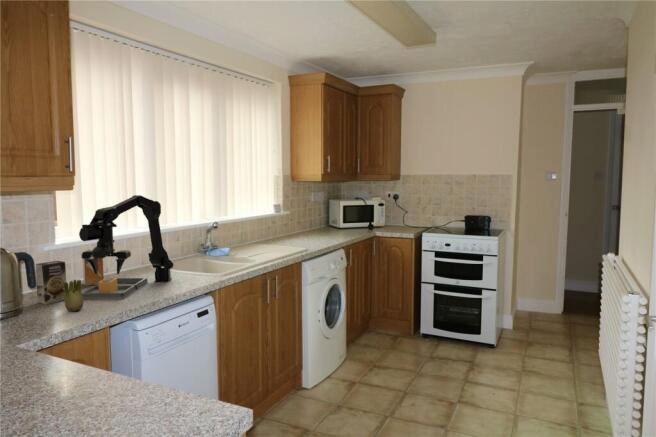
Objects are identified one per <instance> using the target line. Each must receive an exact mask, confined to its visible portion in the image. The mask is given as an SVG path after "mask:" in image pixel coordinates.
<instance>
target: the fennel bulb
mask: <svg viewBox="0 0 656 437" xmlns="http://www.w3.org/2000/svg"><path fill="white" fill-rule="evenodd" d="M81 288H82V280H81V279H73V280H70V281H69V282H68V281H66V282H64V289H65V300H64V305H65V309H66V311H67V312H79V311H81V309H82V308H83V306H84V299H83V297H82V293H81V292H82V289H81Z"/></svg>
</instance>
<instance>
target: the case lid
mask: <svg viewBox="0 0 656 437" xmlns="http://www.w3.org/2000/svg"><path fill="white" fill-rule="evenodd" d="M136 291H137V290H136V285H118V291H116V292H115V293H99V285H97V286H96V285H92V286H91V287H89V288H87V289H86V290H84V291H81V293H82V297H83V300H124V299H125V298H127V297H129V296H130V295H131V294H133V293H134V292H136Z"/></svg>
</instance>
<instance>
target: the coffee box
mask: <svg viewBox="0 0 656 437" xmlns="http://www.w3.org/2000/svg"><path fill="white" fill-rule="evenodd" d="M66 271H67V270H66V262H65V261H60V260H55V261H53V260H52V261H48V262H41V263H35V275H36V276H35V278H36V280H35V281H36V298H37V299H36V300H37V303H39V304H42V305H48V304H49V305H50V304H53V303H57V302H61V301H65V289H64V282H67V272H66Z"/></svg>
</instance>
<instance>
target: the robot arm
mask: <svg viewBox="0 0 656 437" xmlns="http://www.w3.org/2000/svg"><path fill="white" fill-rule="evenodd" d="M136 207H138V208H140V209H141V210H142V215H143V216H145V217H144V218H146V220H147V222H148V229H149V236H150V237H149V238H150V242H151V243H150V244H151V251H150V252H148V261H149V262H150V264H151V265H152V268H154V269H155V271H154V282H169V281H171V280H172V279H173V278H172V276H171V275H172V274H171V269H173V268H174V262H173V261H171V259H170V257H169V255H168V252H167V250H166V248H164V243H163V239H162V233H161V232H162V230H161V225H160V219H159V218H160V217H161V214H162V205H161V202H159V201H157V200H152V199H150V198H147V197H145V196H143V195H140V194H138V195H137V194H136V195H132V196H131V197H129V198H127V199H125V200H123V201H120V202H119V203H116V204H114V205H112V206H107V207H101V208H98V209H96V210H95V213H94V216H93V217H92V219H91V220H90V223H88V224H82V225H81V228H80V230H79V233H78V235H79V239H80V241H82V242H89V241H95V240H97V242H96V246H95V247H94V248H92V249H91V250H90V249H87V250H85V251H83V252H81V259H82V260H83V259H85V261H88V262H89V263H90V264H91V266H92V268H93V270H94V272H95V274H98V258H103V259H105V258H106V257H111V258H112V257H116V259H115V261H116V274H117V275H119V274H120V273H121V270H122V267H123V265H124V262H125V261H126V260H127V259H129V258H130V257H131V256H132V254H131V253H132V252H131V250H129V249H124V250H123V249H121V250H118V251H116V250H115V248H114V243H115V239H114V230H113V228H117V227H118V225H117V224H116V223H115V222H114V221H115V220H117V219H118V217H119V216H120V215H121V214H123V213H126V212H127V211H129V210H131V209H133V208H136Z"/></svg>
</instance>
